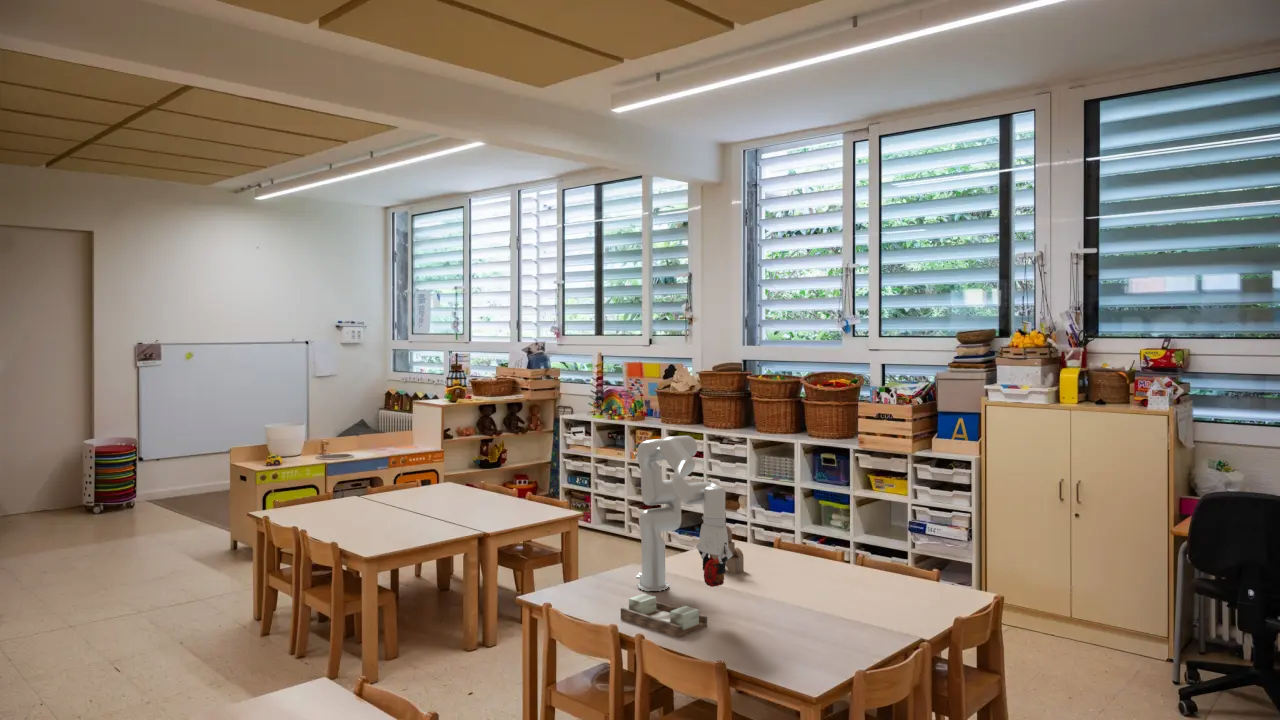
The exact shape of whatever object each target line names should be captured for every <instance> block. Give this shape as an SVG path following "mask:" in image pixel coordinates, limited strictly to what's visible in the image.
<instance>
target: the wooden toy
mask: <svg viewBox="0 0 1280 720" xmlns="http://www.w3.org/2000/svg"><path fill="white" fill-rule="evenodd" d="M725 526H726V528H727V534H728V548H729V549H730V551H731V552H732V554H733V555H732V556H731V557H730V558H729V560H728V561H727V562H725V568H726V569H727V570H728V574H732V575H737V574H740V573H742V572H744V565H745V564H744V562H745V561H744V560H745V559H744V553H743V551H742V550H741V549H740V548H739V547H736V545H735V542H734V541H732V540H733V538H732V537H733V533H732V532H733V531H732V529H731V528H730V527H729V525H727V513H726V511H725ZM726 555H727V554H725V556H726ZM721 557H722V556H721ZM712 558H713V559H718V556H715V555H712ZM722 559H723V558H722ZM718 560H719V559H718Z"/></svg>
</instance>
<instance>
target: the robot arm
mask: <svg viewBox="0 0 1280 720" xmlns="http://www.w3.org/2000/svg"><path fill="white" fill-rule="evenodd" d="M697 451H698V444H697V442H696V440H695V439H694V437H692V436H690V435H675V436H668V437H665V438H657V439H648V440H644V441H642V442H640V444H639V445H638V447H637V450H636V458H637V461H638V466H639V468H640V487H641V499H642V502H643V504H644V505H645V506H658V505H665V507H657V508H654V507H653V508H648V509H645V510H643V511H642V512H640V514H639V516H638V525H639V530H640V538H641V572H639V573H637V575H636V576H635V579H636V580H639V583H638V584H637V588H638V589H639V590H640V589H641V590H640V591H643V590H644V591H643V592H649V591H659V592H661V591H660V590H664V591H666V590H665V589H667V588H668V587H669V588H670V583H669V582H667V581H666V543H665V539H664V538H663V537H662V536H661V533H664V532H671V531H675V530H678V529H679V528H680V527H681V524H682V503H684V504H685V505H691V506H693V505H698V504H699V505H700V504H703V515H702V516H701V519H702V520H703V523H701V526H700V531H699V540H698V541H699V542H698V543H697V545H696V546H695V547H696V549H697V551H698V553H699V554H700V558H701V559H702V571H704V569H705V565H706V563H707V562H708V561H709V559H710V554H711V555H715V556H718V559H719V562H720V563H718V574H719V575H721V574H725V573H726V566H725V562H727V561H728V560H729V558H730V557H731V556H732V555H733V554H732V552H731V551H730V549H729V548H728V534H727V528H726V526H727V525H726V526H725V512H726V489H725V488H724V487H723V486H720V485H717V484H716V483H715V482H712V481H700V482H690V483H689V482H687V481H686V480H685V478H686V477H687V476H689V475H690V474H691V473H692V472H693V471H694V469H695V466H696V463H695V459H694V458H693V457H694V456H695V455H696V454H697V453H698V452H697ZM658 461H666V462H667V463H668V464H669V466H670V468H671V469H672V471H674V472H673V475H672V479H665V480H664V479H663V470H662V467H661V466H660V464H659V463H658ZM725 554H727V555H726V556H725ZM721 556H722V557H721ZM722 558H723V559H722ZM669 588H668V589H669ZM668 589H667V590H668Z"/></svg>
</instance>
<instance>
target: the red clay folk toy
mask: <svg viewBox="0 0 1280 720" xmlns="http://www.w3.org/2000/svg"><path fill="white" fill-rule="evenodd" d="M709 558H710V559H709V561H708V562H707V563H706V565H705V569H704V570H703V581H704V583H705V584H706V586H709V587H719V586H722V585H724V582H725V581H724V580H725V577H724V576H725V575H724V574H725V573H724V574H721V575H719V574H718V563H720V562H719V560H718V559H713V558H712V555H711V554H709Z"/></svg>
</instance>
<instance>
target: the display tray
mask: <svg viewBox="0 0 1280 720" xmlns="http://www.w3.org/2000/svg"><path fill="white" fill-rule="evenodd" d="M620 619H623V620H626V621H629V622H631V623H635V624H637V625H640V626H643V627H647V628H649V629H652V630H656V631H658V632H661V633H664V634H666V635H667V634H668V635H670V636H673V637H677V638H682V637H684V636H687V635H690V634H693V633H694V632H697V631H700V630H702V629H705V628H706V627H708V616H707V615H703V614H701V613H700V610H699V609H698V608H695V607H692V606H688V605H684V606H681V607H678V606H677V607H676V606H673V605H669V604H666V603H663V602H660V601H657V596H655V595H651V594H647V593H641V594H639V595H635V596H632V597H629V598H628V608H625V607H621V608H620Z"/></svg>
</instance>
